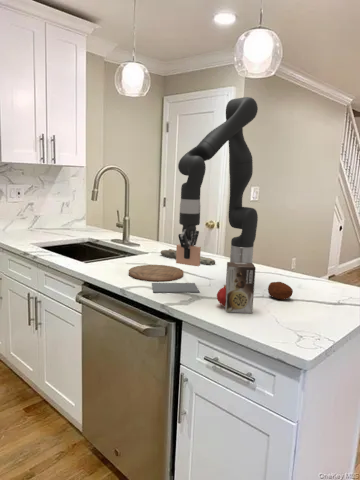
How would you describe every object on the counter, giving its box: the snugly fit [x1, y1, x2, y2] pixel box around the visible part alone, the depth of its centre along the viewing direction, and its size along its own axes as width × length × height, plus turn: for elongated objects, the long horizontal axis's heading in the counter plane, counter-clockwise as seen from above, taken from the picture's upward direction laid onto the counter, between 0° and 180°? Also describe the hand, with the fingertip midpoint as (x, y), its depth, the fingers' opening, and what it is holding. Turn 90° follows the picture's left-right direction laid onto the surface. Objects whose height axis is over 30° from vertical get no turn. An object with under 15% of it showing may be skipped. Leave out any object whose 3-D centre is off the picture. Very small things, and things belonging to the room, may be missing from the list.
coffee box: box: [224, 261, 256, 314], centre depth 131 cm, size 9×6×16 cm
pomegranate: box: [216, 284, 226, 308], centre depth 134 cm, size 6×6×8 cm
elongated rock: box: [160, 248, 216, 266], centre depth 208 cm, size 35×5×10 cm
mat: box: [151, 282, 201, 294], centre depth 154 cm, size 18×12×1 cm, turn 98°
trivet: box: [128, 264, 184, 283], centre depth 175 cm, size 25×25×2 cm
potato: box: [267, 281, 294, 301], centre depth 147 cm, size 7×9×6 cm
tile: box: [175, 243, 202, 267], centre depth 143 cm, size 9×2×7 cm, turn 64°
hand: (188, 257), depth 143 cm, fingers closed on tile, 1 cm apart
